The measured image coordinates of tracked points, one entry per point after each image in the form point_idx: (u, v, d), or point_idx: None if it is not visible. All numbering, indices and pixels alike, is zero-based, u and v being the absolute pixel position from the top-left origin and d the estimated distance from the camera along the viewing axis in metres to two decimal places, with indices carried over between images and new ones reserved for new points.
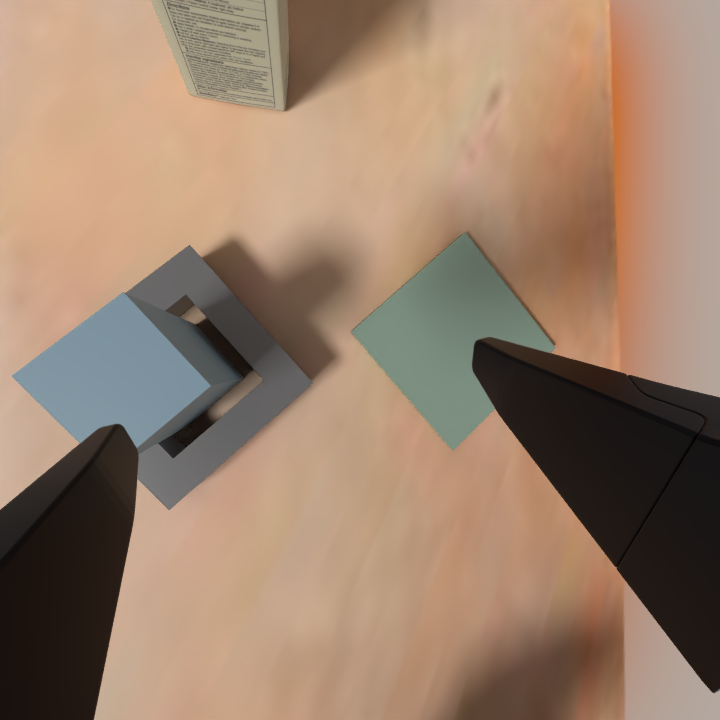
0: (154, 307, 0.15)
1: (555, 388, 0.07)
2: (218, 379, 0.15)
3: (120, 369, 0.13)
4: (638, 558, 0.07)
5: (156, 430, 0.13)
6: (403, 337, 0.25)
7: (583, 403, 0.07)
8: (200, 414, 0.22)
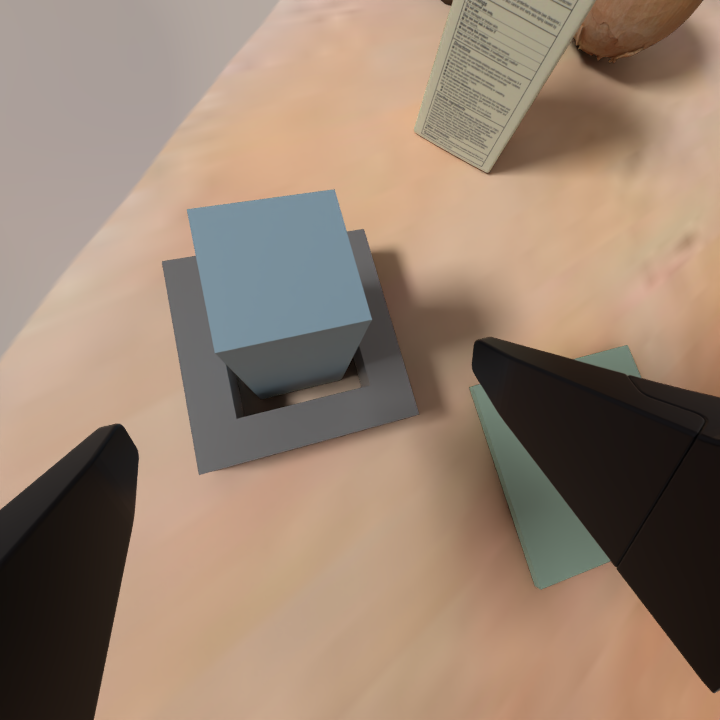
0: None
1: (555, 388, 0.07)
2: None
3: (290, 256, 0.11)
4: (638, 558, 0.07)
5: (290, 336, 0.10)
6: None
7: (583, 403, 0.07)
8: (280, 393, 0.19)
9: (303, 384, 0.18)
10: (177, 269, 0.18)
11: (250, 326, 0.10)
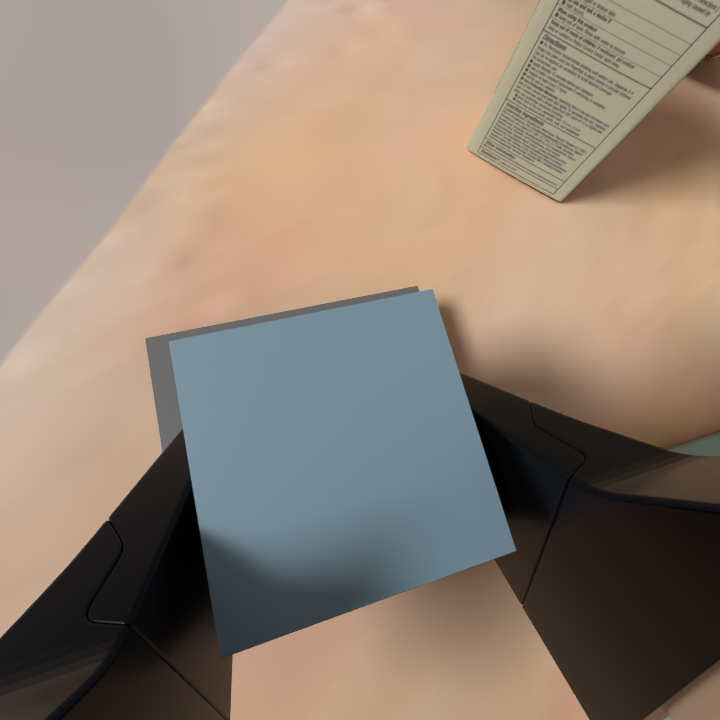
0: None
1: None
2: None
3: (362, 427, 0.06)
4: (537, 599, 0.06)
5: (368, 602, 0.05)
6: None
7: (480, 433, 0.06)
8: None
9: None
10: (167, 349, 0.13)
11: (291, 588, 0.05)
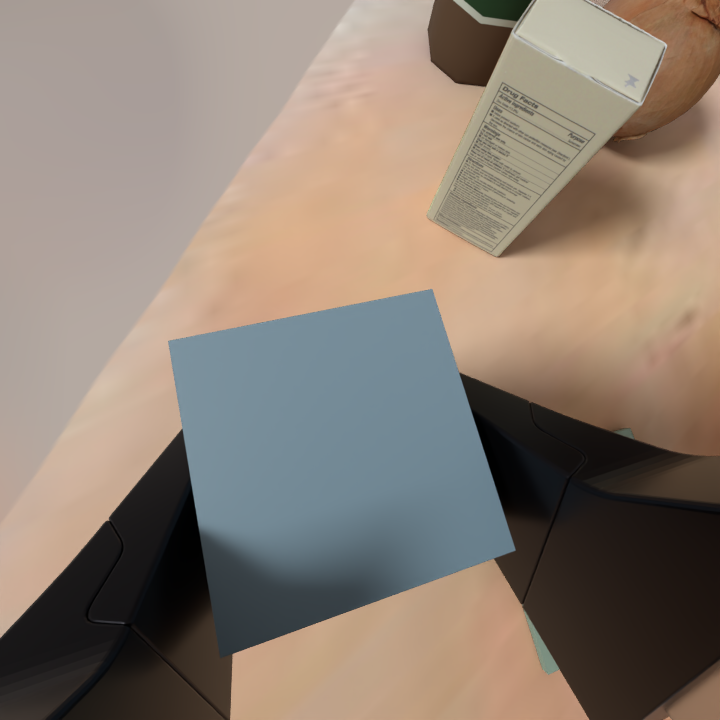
0: None
1: None
2: None
3: (361, 427, 0.06)
4: (537, 599, 0.06)
5: (367, 602, 0.05)
6: None
7: (480, 433, 0.06)
8: None
9: None
10: None
11: (290, 587, 0.05)
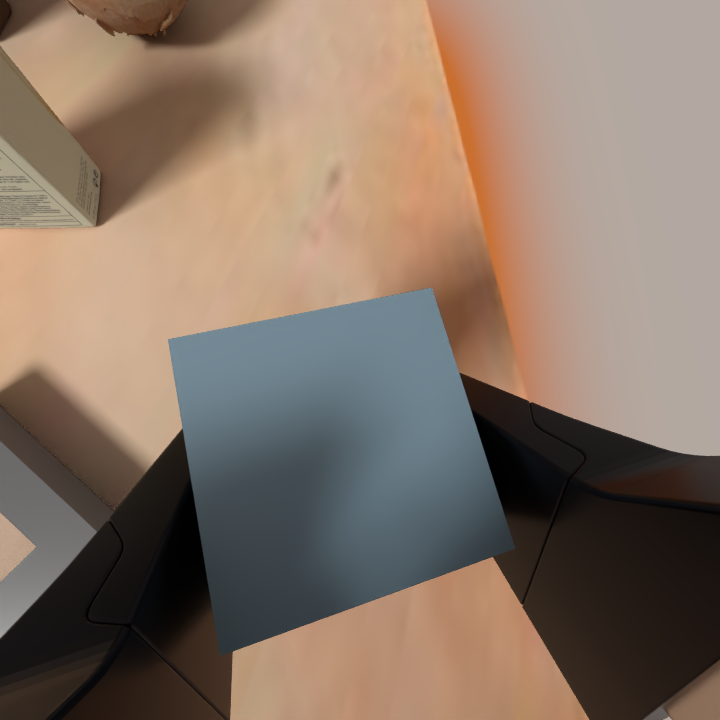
0: None
1: None
2: None
3: (361, 425, 0.06)
4: (537, 598, 0.06)
5: (367, 600, 0.05)
6: None
7: (480, 433, 0.06)
8: None
9: None
10: None
11: (290, 585, 0.05)
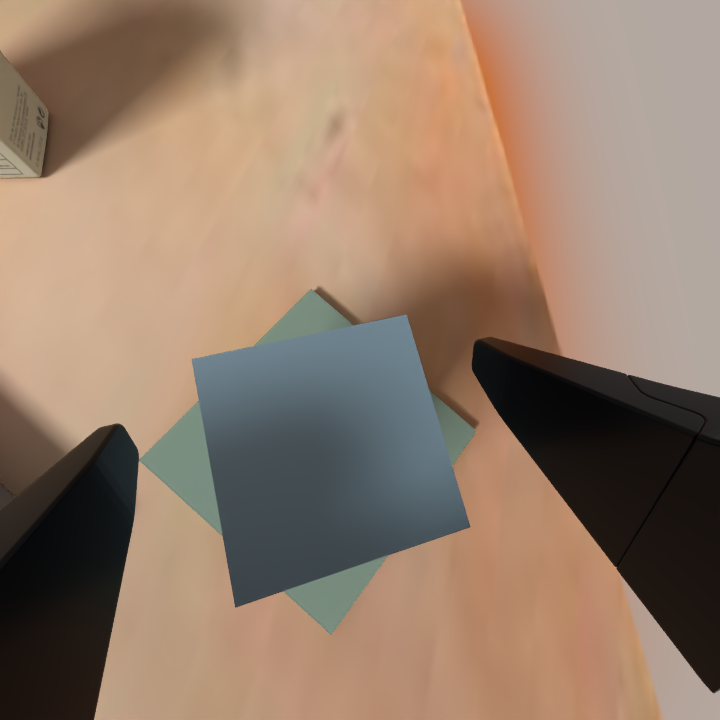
0: None
1: (555, 388, 0.07)
2: None
3: (347, 428, 0.07)
4: (638, 558, 0.07)
5: (350, 566, 0.07)
6: None
7: (583, 403, 0.07)
8: None
9: None
10: None
11: (290, 554, 0.06)
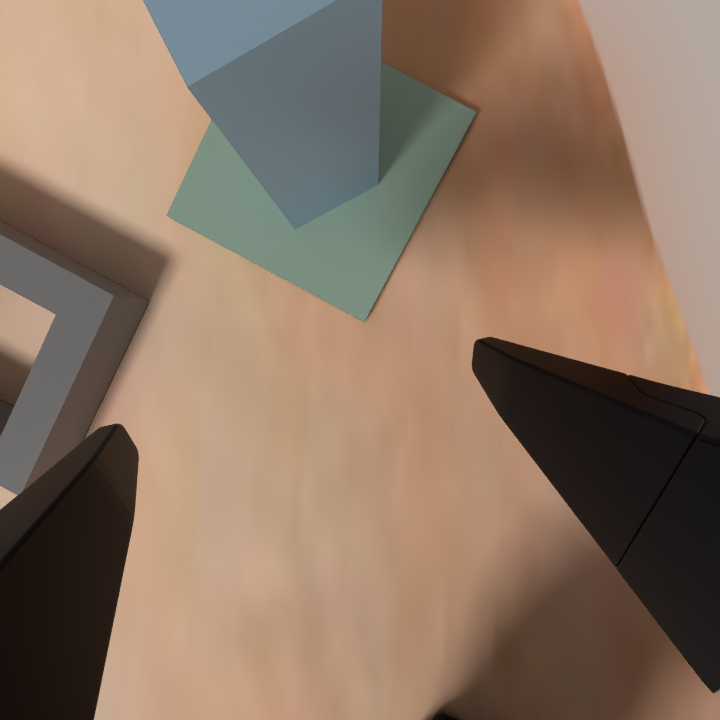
0: None
1: (555, 388, 0.07)
2: None
3: None
4: (638, 558, 0.07)
5: (274, 34, 0.07)
6: (236, 195, 0.17)
7: (583, 403, 0.07)
8: (313, 215, 0.17)
9: (334, 194, 0.16)
10: None
11: (219, 36, 0.07)
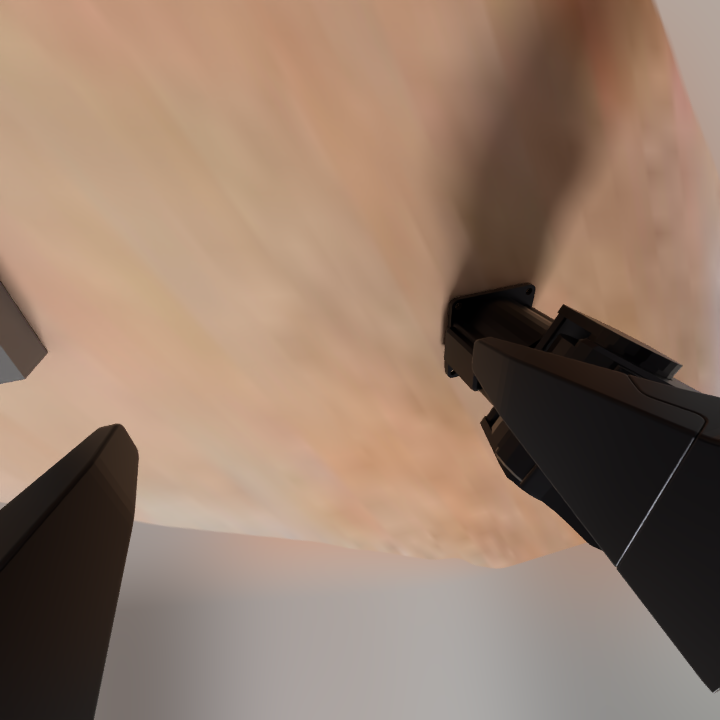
0: None
1: (555, 388, 0.07)
2: None
3: None
4: (638, 558, 0.07)
5: None
6: None
7: (583, 403, 0.07)
8: None
9: None
10: None
11: None
